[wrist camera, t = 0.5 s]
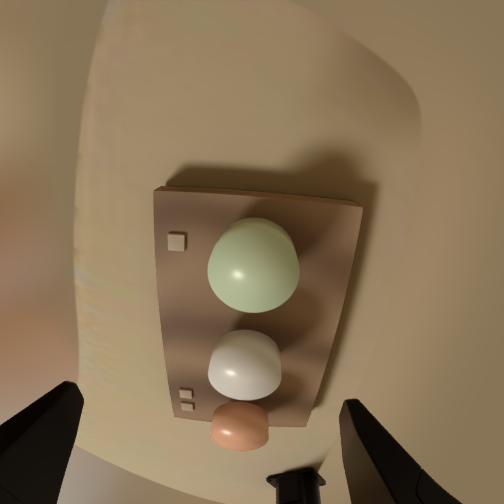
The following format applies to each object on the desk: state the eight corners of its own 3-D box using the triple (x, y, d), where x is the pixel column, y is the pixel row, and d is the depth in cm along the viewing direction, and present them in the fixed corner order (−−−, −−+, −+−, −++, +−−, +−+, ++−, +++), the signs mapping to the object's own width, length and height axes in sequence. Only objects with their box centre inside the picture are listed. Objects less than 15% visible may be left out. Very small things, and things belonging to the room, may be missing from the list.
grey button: (275, 380, 20) (276, 401, 18) (212, 376, 20) (208, 396, 18) (284, 332, 18) (286, 353, 16) (212, 326, 18) (207, 347, 16)
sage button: (290, 295, 17) (293, 315, 15) (212, 289, 17) (207, 308, 15) (300, 221, 16) (305, 234, 14) (214, 214, 16) (208, 226, 14)
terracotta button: (265, 433, 23) (265, 452, 21) (213, 429, 23) (210, 448, 21) (271, 403, 21) (271, 423, 19) (212, 398, 21) (209, 419, 19)
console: (304, 414, 26) (305, 428, 24) (177, 405, 26) (173, 418, 24) (355, 201, 18) (364, 208, 16) (161, 185, 18) (152, 191, 16)
